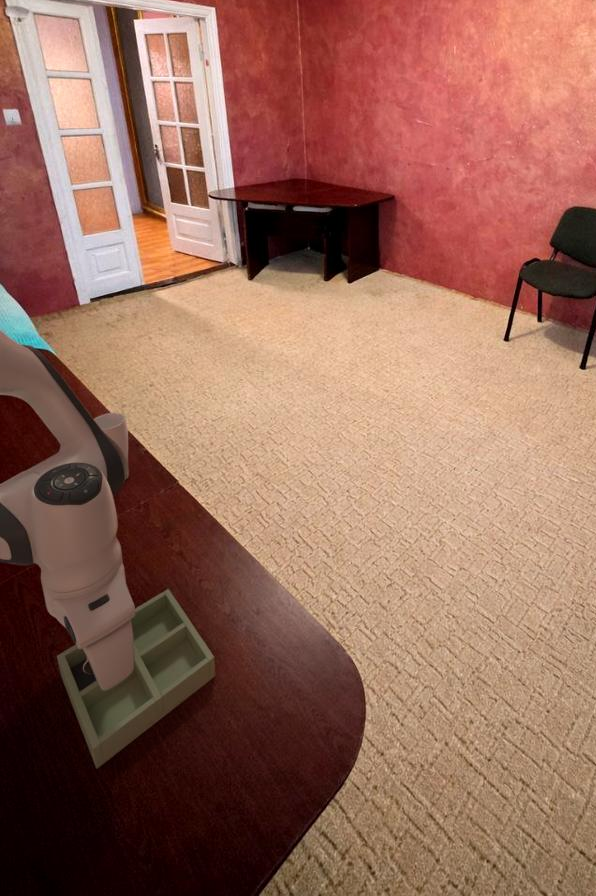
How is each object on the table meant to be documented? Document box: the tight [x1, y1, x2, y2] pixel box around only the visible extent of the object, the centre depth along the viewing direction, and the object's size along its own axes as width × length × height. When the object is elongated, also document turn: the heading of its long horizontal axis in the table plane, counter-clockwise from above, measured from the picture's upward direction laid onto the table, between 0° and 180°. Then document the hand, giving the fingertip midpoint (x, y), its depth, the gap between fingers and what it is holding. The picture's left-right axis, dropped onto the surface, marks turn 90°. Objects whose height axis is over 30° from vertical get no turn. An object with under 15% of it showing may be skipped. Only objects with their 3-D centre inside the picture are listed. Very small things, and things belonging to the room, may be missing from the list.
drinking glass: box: [93, 412, 130, 480], centre depth 105 cm, size 7×7×15 cm
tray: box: [56, 588, 217, 769], centre depth 69 cm, size 15×15×4 cm
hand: (97, 655), depth 68 cm, fingers closed on wristwatch, 5 cm apart
